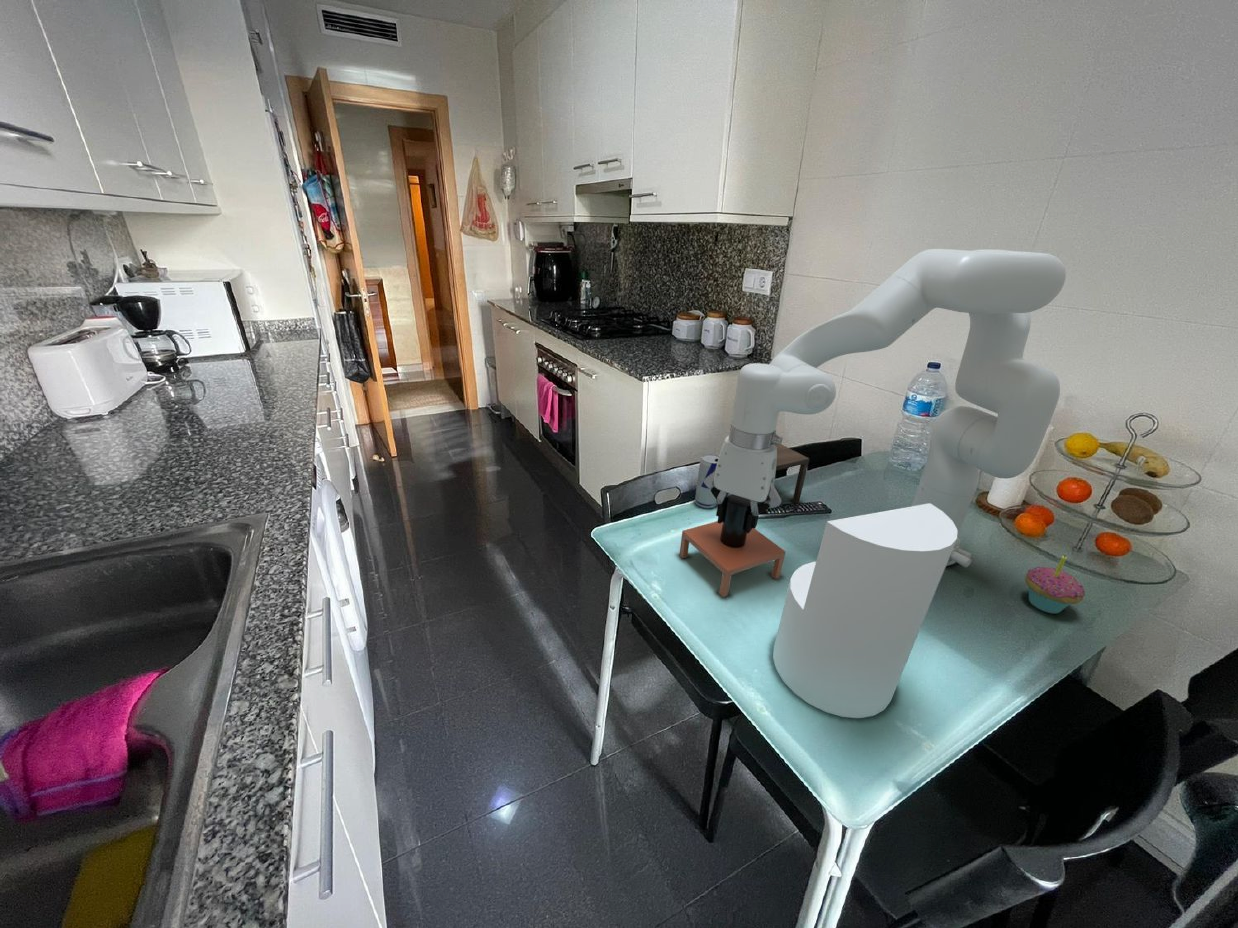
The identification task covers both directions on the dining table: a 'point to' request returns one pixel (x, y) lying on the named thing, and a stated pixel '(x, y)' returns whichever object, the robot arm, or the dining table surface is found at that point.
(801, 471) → the small brown table
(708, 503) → the energy drink
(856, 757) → the dining table surface
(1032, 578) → the cupcake
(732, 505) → the tin
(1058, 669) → the dining table surface
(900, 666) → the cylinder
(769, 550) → the low reddish-brown table
